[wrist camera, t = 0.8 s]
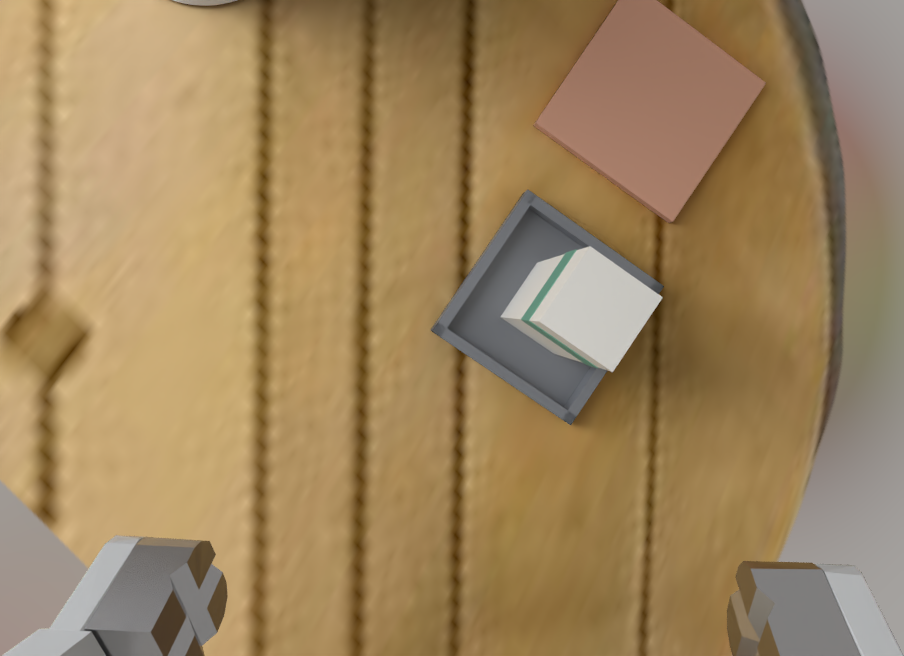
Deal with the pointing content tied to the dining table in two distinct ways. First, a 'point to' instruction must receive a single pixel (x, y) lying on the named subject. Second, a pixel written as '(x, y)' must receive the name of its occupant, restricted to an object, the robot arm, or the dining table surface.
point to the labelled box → (582, 307)
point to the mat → (650, 104)
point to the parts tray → (493, 287)
